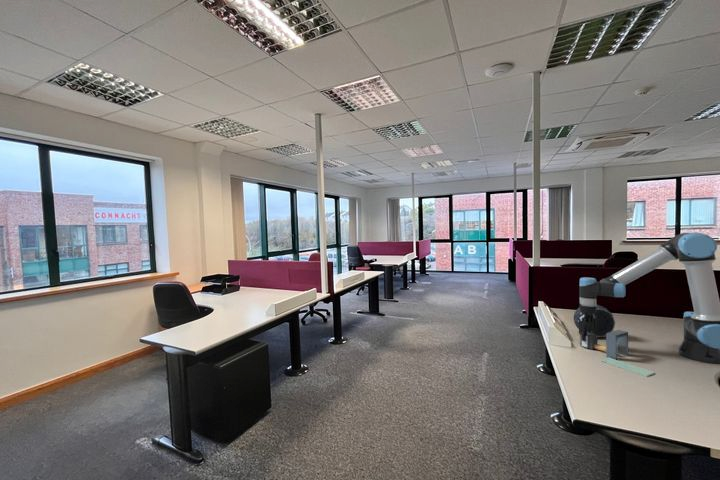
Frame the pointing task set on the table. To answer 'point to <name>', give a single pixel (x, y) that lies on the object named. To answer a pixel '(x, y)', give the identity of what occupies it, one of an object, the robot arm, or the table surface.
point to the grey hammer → (593, 342)
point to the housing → (612, 343)
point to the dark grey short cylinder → (599, 320)
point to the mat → (628, 367)
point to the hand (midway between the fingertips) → (587, 345)
